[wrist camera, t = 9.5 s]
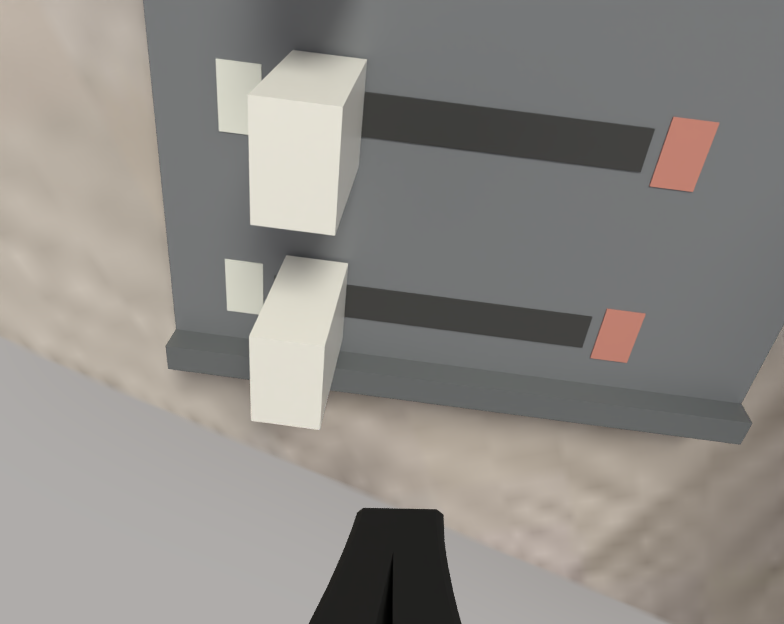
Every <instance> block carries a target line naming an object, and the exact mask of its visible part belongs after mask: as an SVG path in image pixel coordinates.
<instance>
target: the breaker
mask: <svg viewBox="0 0 784 624" xmlns="http://www.w3.org/2000/svg"><path fill="white" fill-rule="evenodd" d="M366 67H367V59H360V58H353V57H345V56H337V55H329V54H321V53H313V52H305V51H297V50H292V51H291V52H290V53H289V54H288V55H287V56H286V57H285V58H284V59H283V60H282V61H281V62H280V63H279V64H278V65H277V66H276V67H275V68H274V69H273V70H272V71H271V72H270V73H269V74H268V75H267V76H266V77H265V78H264V79H263V80H262V81H261V82H260V83H259V84H258V85H257V86H256V87H255V88H254V89H253V90H252V91H251V92H250V93H249V94H248V137H249V186H250V225H256V226H264V227H272V228H279V229H287V230H295V231H302V232H310V233H318V234H325V235H333V236H335V234H336V231H337V229H338V226H339V223H340V220H341V217H342V214H343V211H344V208H345V205H346V202H347V199H348V197H349V194H350V191H351V188H352V185H353V182H354V179H355V176H356V173H357V170H358V167H359V157H360V144H361V131H362V119H363V106H364V93H365V80H366Z"/></svg>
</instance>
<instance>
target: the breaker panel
mask: <svg viewBox="0 0 784 624" xmlns="http://www.w3.org/2000/svg"><path fill="white" fill-rule="evenodd" d="M143 4H144V14H145V23H146V33H147V43H148V53H149V63H150V73H151V83H152V93H153V103H154V113H155V123H156V133H157V143H158V153H159V163H160V173H161V183H162V193H163V203H164V213H165V223H166V233H167V243H168V253H169V263H170V273H171V283H172V293H173V303H174V313H175V322H176V330H175V332H174V334H173V335H172V337H171V338H170V340H169V341H168V343H167V345H166V354H167V362H168V369H173V370H180V371H188V372H196V373H203V374H211V375H218V376H226V377H233V378H241V379H248V380H250V358H249V335H250V333H251V331H252V329H253V327H254V324H255V322H256V320H257V318H258V316H259V313H260V311H261V309H262V307H263V305H264V303H265V300H266V298H267V296H268V294H269V292H270V290H271V287H272V285H273V283H274V281H275V279H276V276H277V274H278V272H279V270H280V268H281V266H282V263H283V261H284V259H285V257H286V255H289V256H297V257H304V258H312V259H320V260H327V261H335V262H343V263H348V273H347V286H346V300H345V313H344V326H343V339H342V343H341V347H340V351H339V355H338V359H337V363H336V367H335V371H334V375H333V379H332V383H331V388H330V390H332V391H339V392H347V393H354V394H362V395H369V396H377V397H384V398H392V399H400V400H407V401H415V402H422V403H430V404H437V405H445V406H453V407H460V408H468V409H475V410H483V411H490V412H498V413H505V414H513V415H521V416H528V417H536V418H543V419H551V420H558V421H566V422H573V423H581V424H589V425H596V426H604V427H611V428H619V429H626V430H634V431H642V432H649V433H657V434H664V435H672V436H679V437H687V438H694V439H702V440H710V441H717V442H725V443H732V444H741V443H742V441H743V439H744V437H745V435H746V434H747V432H748V430H749V428H750V427H751V425H752V422H751V420H750V418H749V417H748V415H747V413H746V411H745V409H744V408H743V406H742V404H741V403H742V401H743V399H744V398H745V396H746V394H747V392H748V390H749V388H750V386H751V384H752V383H753V381H754V379H755V377H756V375H757V373H758V371H759V370H760V368H761V366H762V364H763V362H764V360H765V358H766V356H767V355H768V353H769V351H770V349H771V347H772V345H773V343H774V342H775V340H776V338H777V336H778V334H779V332H780V330H781V328H782V327H783V325H784V0H143ZM292 50H297V51H305V52H313V53H321V54H329V55H337V56H345V57H353V58H360V59H367V67H366V80H365V93H364V106H363V119H362V131H361V144H360V157H359V167H358V170H357V173H356V176H355V179H354V182H353V185H352V188H351V191H350V194H349V197H348V199H347V202H346V205H345V208H344V211H343V214H342V217H341V220H340V223H339V226H338V229H337V231H336V234H335V236H333V235H325V234H318V233H310V232H302V231H295V230H287V229H279V228H272V227H264V226H256V225H250V186H249V137H248V94H249V93H250V92H251V91H252V90H253V89H254V88H255V87H256V86H257V85H258V84H259V83H260V82H261V81H262V80H263V79H264V78H265V77H266V76H267V75H268V74H269V73H270V72H271V71H272V70H273V69H274V68H275V67H276V66H277V65H278V64H279V63H280V62H281V61H282V60H283V59H284V58H285V57H286V56H287V55H288V54H289V53H290V52H291V51H292Z"/></svg>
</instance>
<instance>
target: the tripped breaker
mask: <svg viewBox="0 0 784 624" xmlns="http://www.w3.org/2000/svg"><path fill="white" fill-rule="evenodd" d="M347 273H348V263H343V262H335V261H327V260H320V259H312V258H304V257H297V256H289V255H286V257H285V259H284V261H283V263H282V266H281V268H280V270H279V272H278V274H277V276H276V279H275V281H274V283H273V285H272V287H271V290H270V292H269V294H268V296H267V298H266V300H265V303H264V305H263V307H262V309H261V311H260V313H259V316H258V318H257V320H256V322H255V324H254V327H253V329H252V331H251V333H250V335H249V358H250V400H251V421H257V422H264V423H272V424H279V425H287V426H294V427H302V428H309V429H317V430H320V428H321V424H322V420H323V416H324V412H325V408H326V404H327V400H328V396H329V392H330V388H331V383H332V379H333V375H334V371H335V367H336V363H337V359H338V355H339V351H340V347H341V343H342V339H343V326H344V313H345V300H346V286H347Z"/></svg>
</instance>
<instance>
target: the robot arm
mask: <svg viewBox="0 0 784 624" xmlns="http://www.w3.org/2000/svg"><path fill="white" fill-rule="evenodd" d="M309 624H461V621H460V617H459V613H458V610H457V605H456V602H455V597H454V593H453V588H452V583H451V578H450V573H449V569H448V563H447V557H446V550H445V542H444V518H443V514H442V513H441V512H439V511H438V510H437V509H389V508H363V509H362V510H360V511H359V512H358V513H357V515H356V518H355V521H354V524H353V527H352V530H351V532H350V535H349V538H348V540H347V543H346V545H345V548H344V550H343V553H342V555H341V557H340V560H339V562H338V564H337V567H336V569H335V571H334V573H333V575H332V577H331V580H330V582H329V584H328V587H327V588H326V591H325V592H324V594H323V597H322V598H321V600H320V602H319V604H318V606H317V608H316V611H315V612H314V615H313V616H312V618H311V620H310V622H309Z"/></svg>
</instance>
